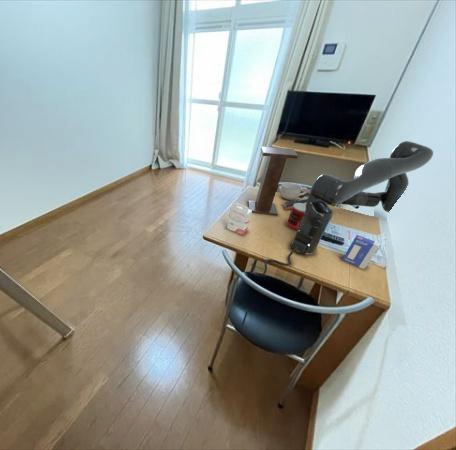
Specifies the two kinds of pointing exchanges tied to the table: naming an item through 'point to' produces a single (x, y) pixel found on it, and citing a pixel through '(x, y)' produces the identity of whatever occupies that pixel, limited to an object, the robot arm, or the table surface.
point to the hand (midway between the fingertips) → (316, 193)
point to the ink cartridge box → (239, 218)
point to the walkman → (361, 251)
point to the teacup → (291, 191)
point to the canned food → (296, 215)
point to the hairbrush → (290, 203)
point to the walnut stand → (270, 179)
